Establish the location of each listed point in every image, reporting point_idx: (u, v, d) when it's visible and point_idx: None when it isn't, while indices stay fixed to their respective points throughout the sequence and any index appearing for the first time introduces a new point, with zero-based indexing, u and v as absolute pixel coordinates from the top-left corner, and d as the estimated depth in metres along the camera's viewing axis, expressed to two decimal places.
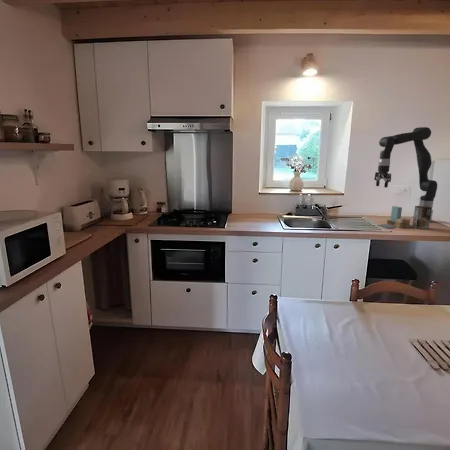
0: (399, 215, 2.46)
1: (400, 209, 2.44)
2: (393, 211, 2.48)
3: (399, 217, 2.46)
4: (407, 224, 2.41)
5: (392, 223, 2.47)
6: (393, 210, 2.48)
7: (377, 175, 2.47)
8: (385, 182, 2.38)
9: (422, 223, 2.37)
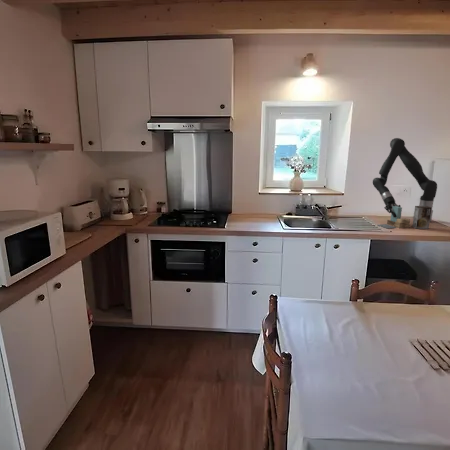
0: (399, 215, 2.46)
1: (400, 209, 2.44)
2: None
3: (399, 217, 2.46)
4: (407, 224, 2.41)
5: (392, 223, 2.47)
6: None
7: None
8: None
9: (422, 223, 2.37)
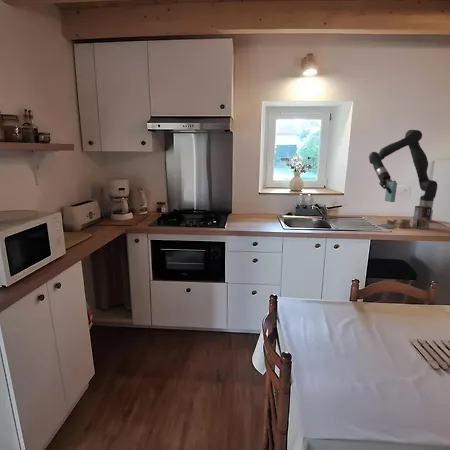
0: (394, 191, 2.35)
1: (395, 184, 2.33)
2: None
3: (394, 193, 2.35)
4: (407, 224, 2.41)
5: (392, 223, 2.47)
6: None
7: None
8: None
9: (422, 223, 2.37)
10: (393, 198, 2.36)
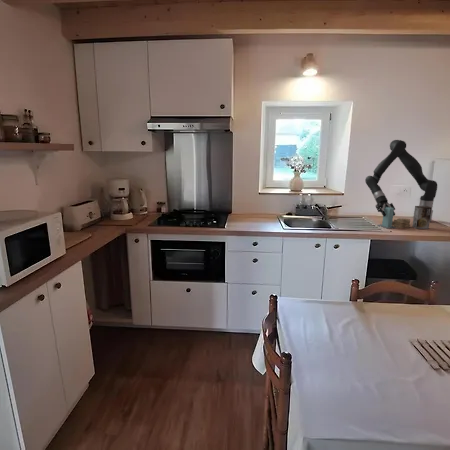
0: (391, 216, 2.39)
1: (392, 210, 2.38)
2: (385, 212, 2.42)
3: (391, 218, 2.39)
4: (407, 224, 2.41)
5: (392, 223, 2.47)
6: (385, 211, 2.41)
7: (391, 206, 2.45)
8: None
9: (422, 223, 2.37)
10: (390, 223, 2.40)
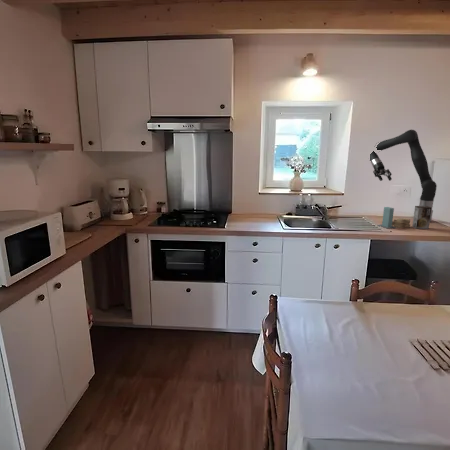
0: (391, 216, 2.39)
1: (392, 210, 2.38)
2: (385, 212, 2.42)
3: (391, 218, 2.39)
4: (407, 224, 2.41)
5: (392, 223, 2.47)
6: (385, 211, 2.41)
7: None
8: None
9: (422, 223, 2.37)
10: (390, 223, 2.40)
